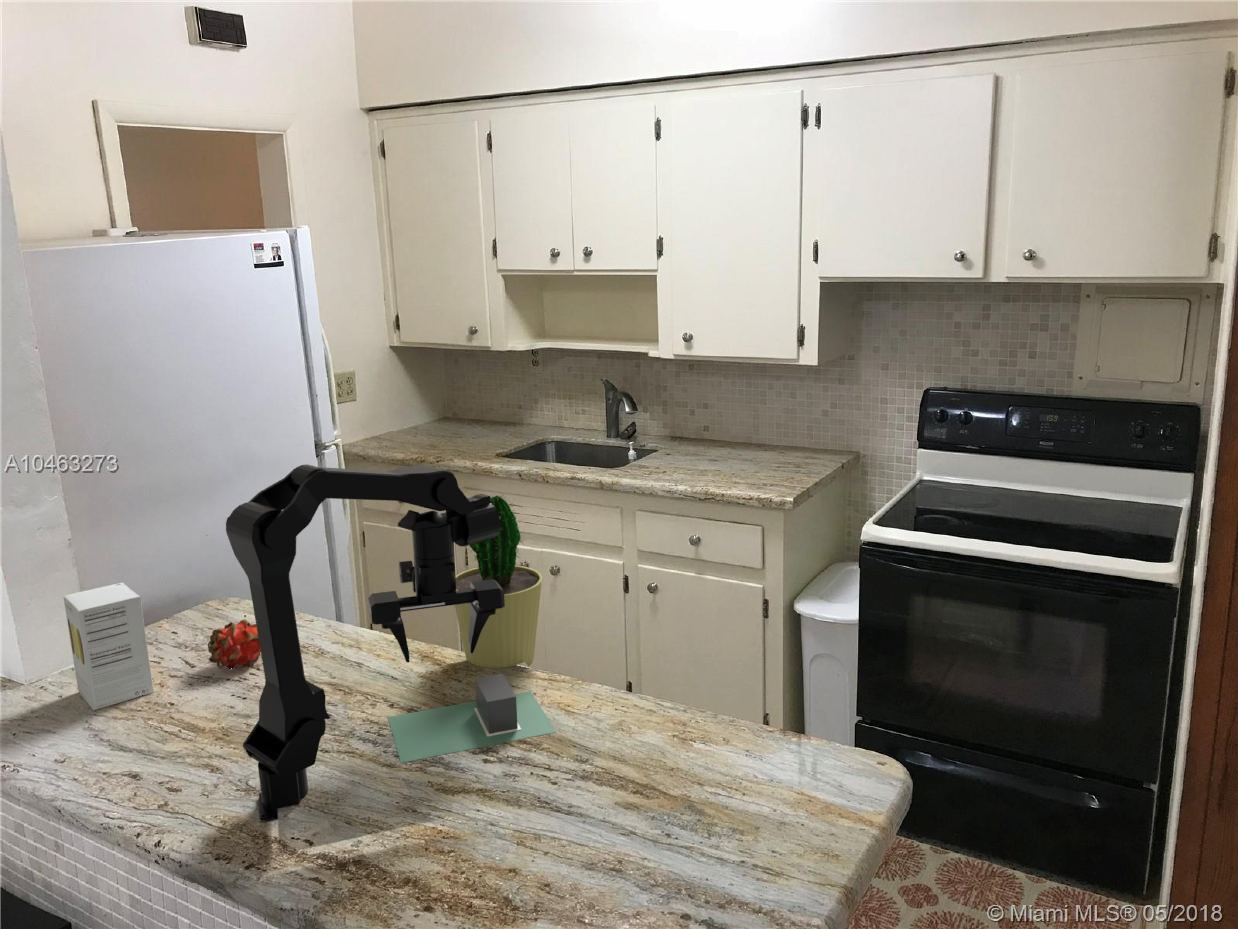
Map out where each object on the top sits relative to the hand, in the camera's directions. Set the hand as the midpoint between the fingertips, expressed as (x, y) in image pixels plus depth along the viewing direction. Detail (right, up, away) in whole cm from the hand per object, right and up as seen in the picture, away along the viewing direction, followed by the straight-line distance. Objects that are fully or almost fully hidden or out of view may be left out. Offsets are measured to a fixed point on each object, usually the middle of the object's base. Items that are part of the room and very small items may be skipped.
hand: (439, 656), depth 141 cm
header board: (+4, -12, +1) cm, 12 cm away
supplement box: (-56, -9, +17) cm, 59 cm away
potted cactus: (+6, -6, +26) cm, 27 cm away
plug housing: (+7, -9, +4) cm, 12 cm away
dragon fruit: (-39, -7, +27) cm, 48 cm away
